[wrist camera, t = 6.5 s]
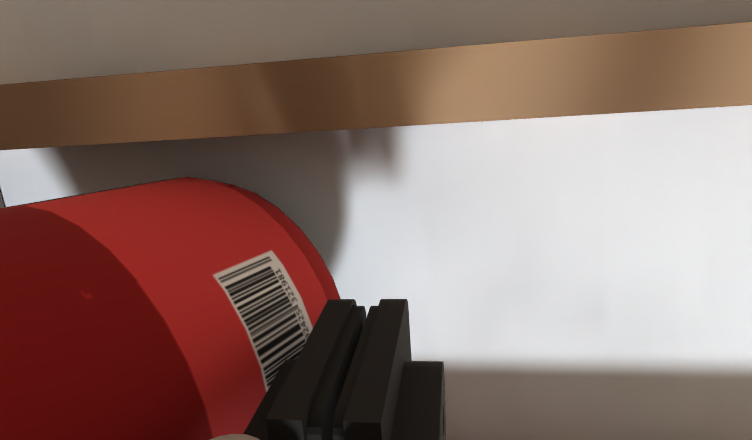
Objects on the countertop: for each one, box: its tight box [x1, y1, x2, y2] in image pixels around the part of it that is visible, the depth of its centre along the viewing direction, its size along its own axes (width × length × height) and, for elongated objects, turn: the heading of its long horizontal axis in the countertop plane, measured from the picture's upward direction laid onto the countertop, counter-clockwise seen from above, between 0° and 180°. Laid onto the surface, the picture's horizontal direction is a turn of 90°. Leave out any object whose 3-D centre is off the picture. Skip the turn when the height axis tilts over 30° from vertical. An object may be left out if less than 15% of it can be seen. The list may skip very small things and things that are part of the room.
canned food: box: [0, 177, 340, 440], centre depth 10 cm, size 8×8×11 cm
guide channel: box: [0, 22, 752, 208], centre depth 13 cm, size 26×13×4 cm, turn 95°
